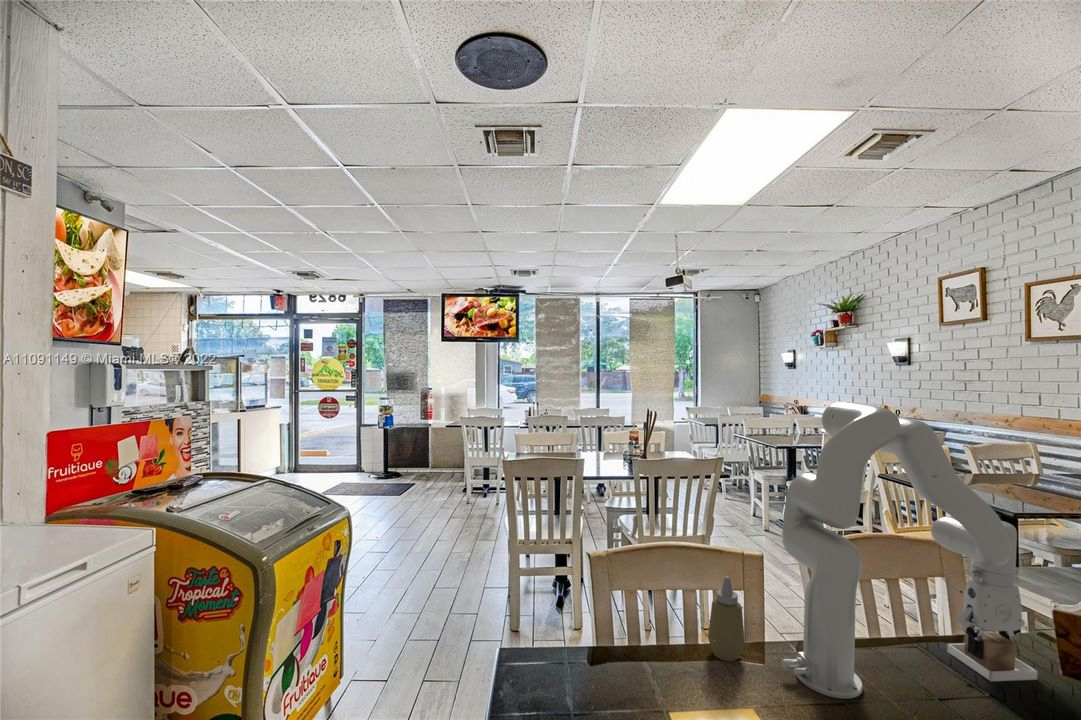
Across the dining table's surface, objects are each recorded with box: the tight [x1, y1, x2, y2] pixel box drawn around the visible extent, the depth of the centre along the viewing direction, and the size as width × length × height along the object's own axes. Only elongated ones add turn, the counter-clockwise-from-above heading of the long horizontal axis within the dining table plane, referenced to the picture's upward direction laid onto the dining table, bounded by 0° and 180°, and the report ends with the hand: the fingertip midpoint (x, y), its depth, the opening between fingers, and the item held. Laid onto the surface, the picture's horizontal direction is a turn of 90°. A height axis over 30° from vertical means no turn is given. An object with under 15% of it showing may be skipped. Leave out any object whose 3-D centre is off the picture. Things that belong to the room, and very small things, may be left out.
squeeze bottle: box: [707, 576, 746, 662], centre depth 118 cm, size 8×8×18 cm
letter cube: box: [964, 628, 1017, 671], centre depth 115 cm, size 6×6×6 cm
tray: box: [946, 642, 1039, 682], centre depth 115 cm, size 11×11×2 cm
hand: (989, 654), depth 115 cm, fingers closed on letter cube, 6 cm apart
